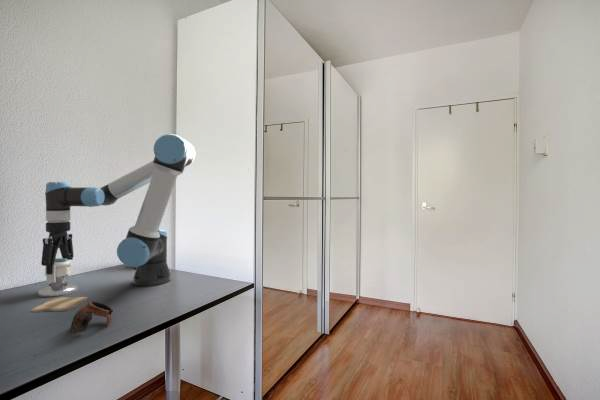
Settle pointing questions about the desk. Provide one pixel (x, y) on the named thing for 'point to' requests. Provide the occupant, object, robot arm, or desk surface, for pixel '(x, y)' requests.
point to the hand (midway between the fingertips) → (58, 279)
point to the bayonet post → (58, 288)
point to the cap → (62, 267)
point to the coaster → (60, 304)
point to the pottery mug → (90, 315)
